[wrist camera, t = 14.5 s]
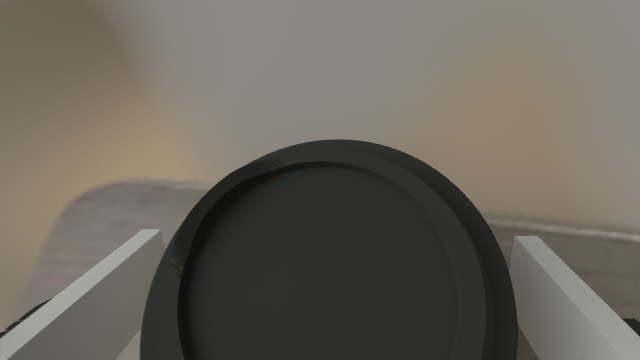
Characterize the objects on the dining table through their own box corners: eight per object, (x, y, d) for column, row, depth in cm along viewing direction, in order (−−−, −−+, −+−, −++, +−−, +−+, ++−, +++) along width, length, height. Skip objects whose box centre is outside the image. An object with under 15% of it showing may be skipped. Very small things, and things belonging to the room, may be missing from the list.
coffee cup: (458, 324, 20) (657, 248, 7) (359, 479, 17) (358, 859, 4) (332, 228, 23) (297, 47, 10) (232, 346, 21) (2, 317, 7)
